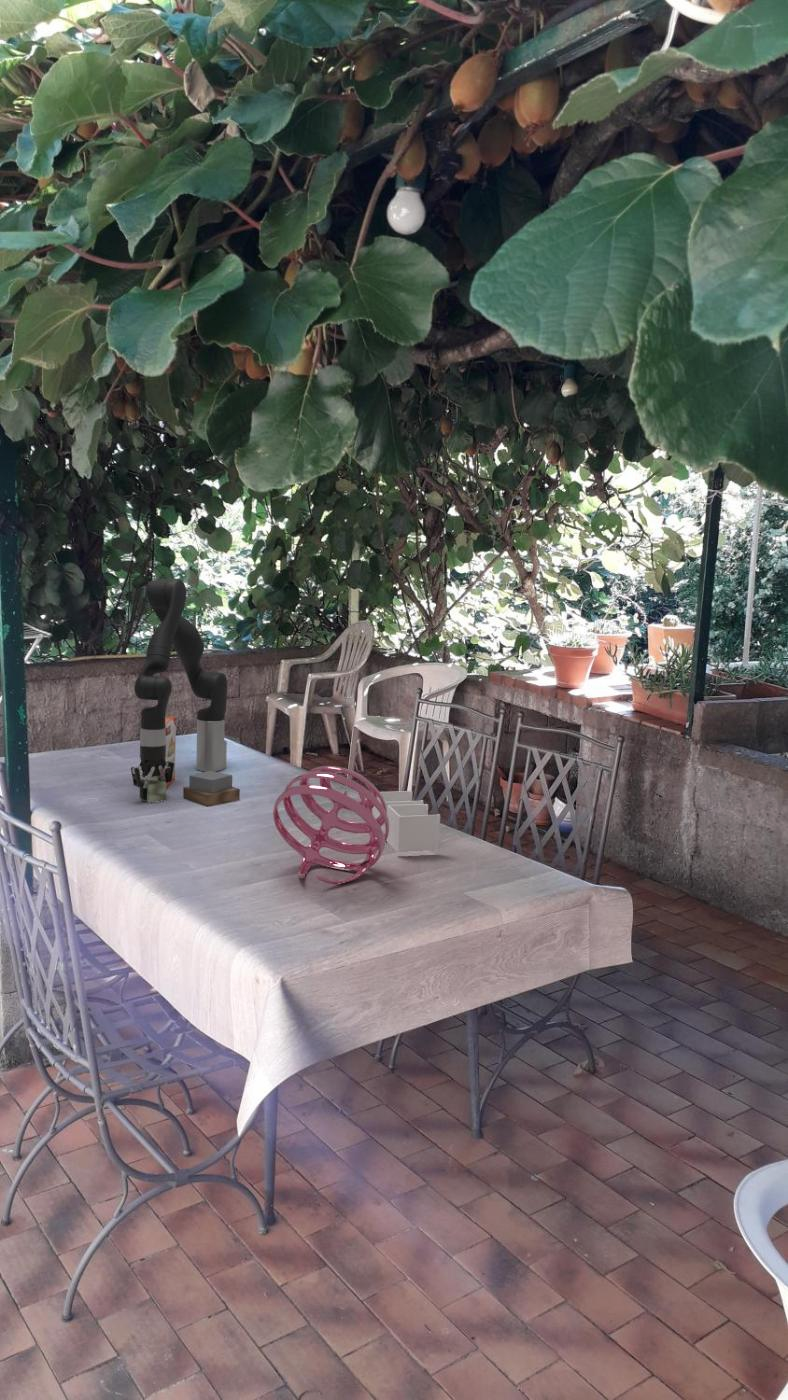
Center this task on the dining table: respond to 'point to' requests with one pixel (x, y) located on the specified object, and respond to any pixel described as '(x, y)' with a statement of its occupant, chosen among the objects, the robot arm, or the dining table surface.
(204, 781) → the top slab
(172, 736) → the cracker box
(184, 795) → the bottom slab
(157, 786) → the green cube
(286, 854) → the dining table surface
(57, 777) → the dining table surface
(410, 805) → the storage container
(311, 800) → the spiral basket
